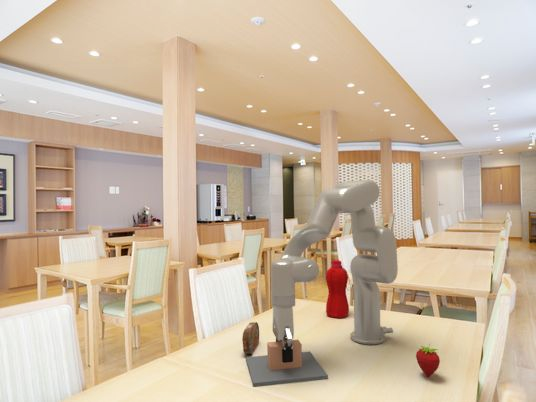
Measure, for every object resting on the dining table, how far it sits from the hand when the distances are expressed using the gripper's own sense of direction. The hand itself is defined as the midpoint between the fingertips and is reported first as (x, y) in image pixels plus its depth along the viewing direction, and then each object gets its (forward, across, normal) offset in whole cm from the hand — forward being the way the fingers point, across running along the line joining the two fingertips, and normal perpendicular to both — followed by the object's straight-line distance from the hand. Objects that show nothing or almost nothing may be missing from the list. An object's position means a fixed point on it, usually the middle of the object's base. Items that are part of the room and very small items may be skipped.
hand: (284, 355), depth 117 cm
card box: (+3, 0, 0) cm, 3 cm away
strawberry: (+4, +14, +40) cm, 43 cm away
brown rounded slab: (+4, -18, -8) cm, 20 cm away
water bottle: (+4, -47, +36) cm, 59 cm away
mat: (+4, 0, 0) cm, 4 cm away
